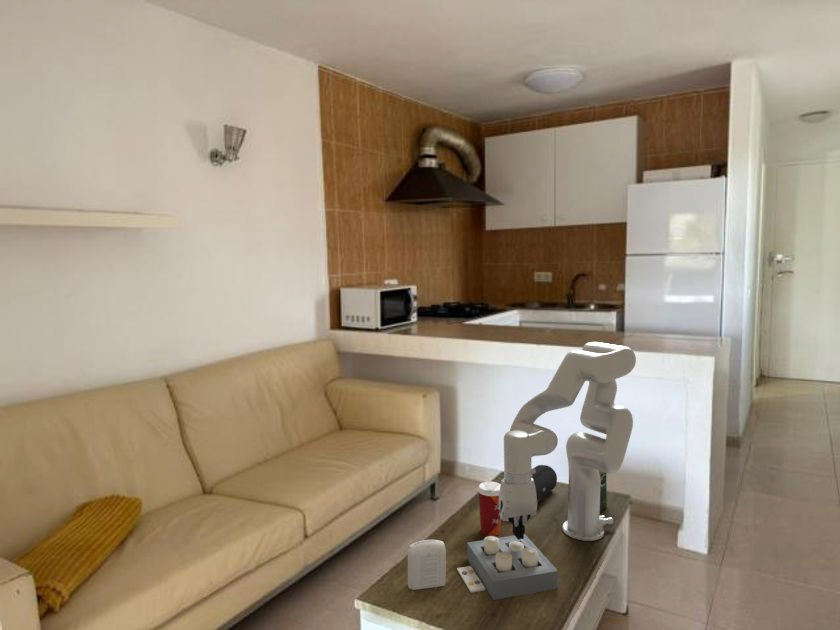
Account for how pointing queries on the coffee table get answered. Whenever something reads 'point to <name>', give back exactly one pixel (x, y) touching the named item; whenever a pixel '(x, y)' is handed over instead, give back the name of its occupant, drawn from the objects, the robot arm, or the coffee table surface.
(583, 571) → the coffee table surface
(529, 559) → the button
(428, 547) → the photo printer
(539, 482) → the portable speaker
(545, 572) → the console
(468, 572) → the card
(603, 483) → the coffee jar
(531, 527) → the coffee table surface
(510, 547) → the button
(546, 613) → the coffee table surface
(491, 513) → the coffee cup
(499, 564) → the button
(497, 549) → the button
